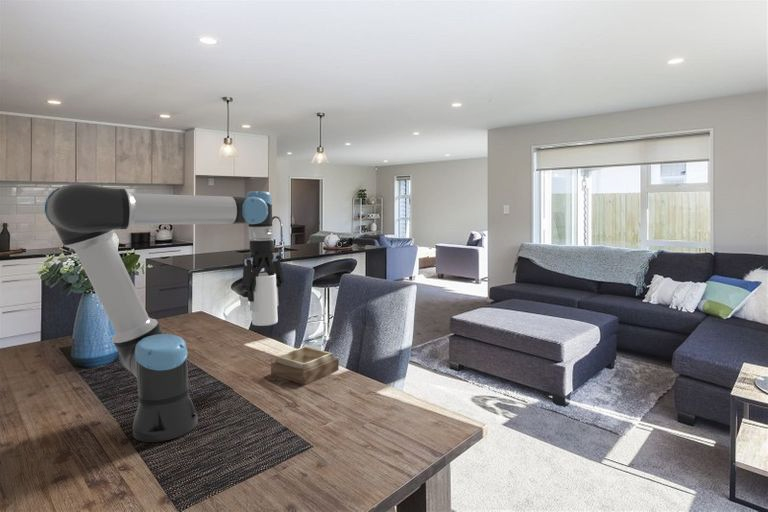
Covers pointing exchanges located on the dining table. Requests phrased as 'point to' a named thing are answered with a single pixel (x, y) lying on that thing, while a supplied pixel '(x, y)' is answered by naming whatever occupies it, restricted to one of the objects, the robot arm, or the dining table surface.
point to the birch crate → (304, 358)
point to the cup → (265, 300)
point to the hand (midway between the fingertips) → (264, 308)
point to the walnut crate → (301, 375)
